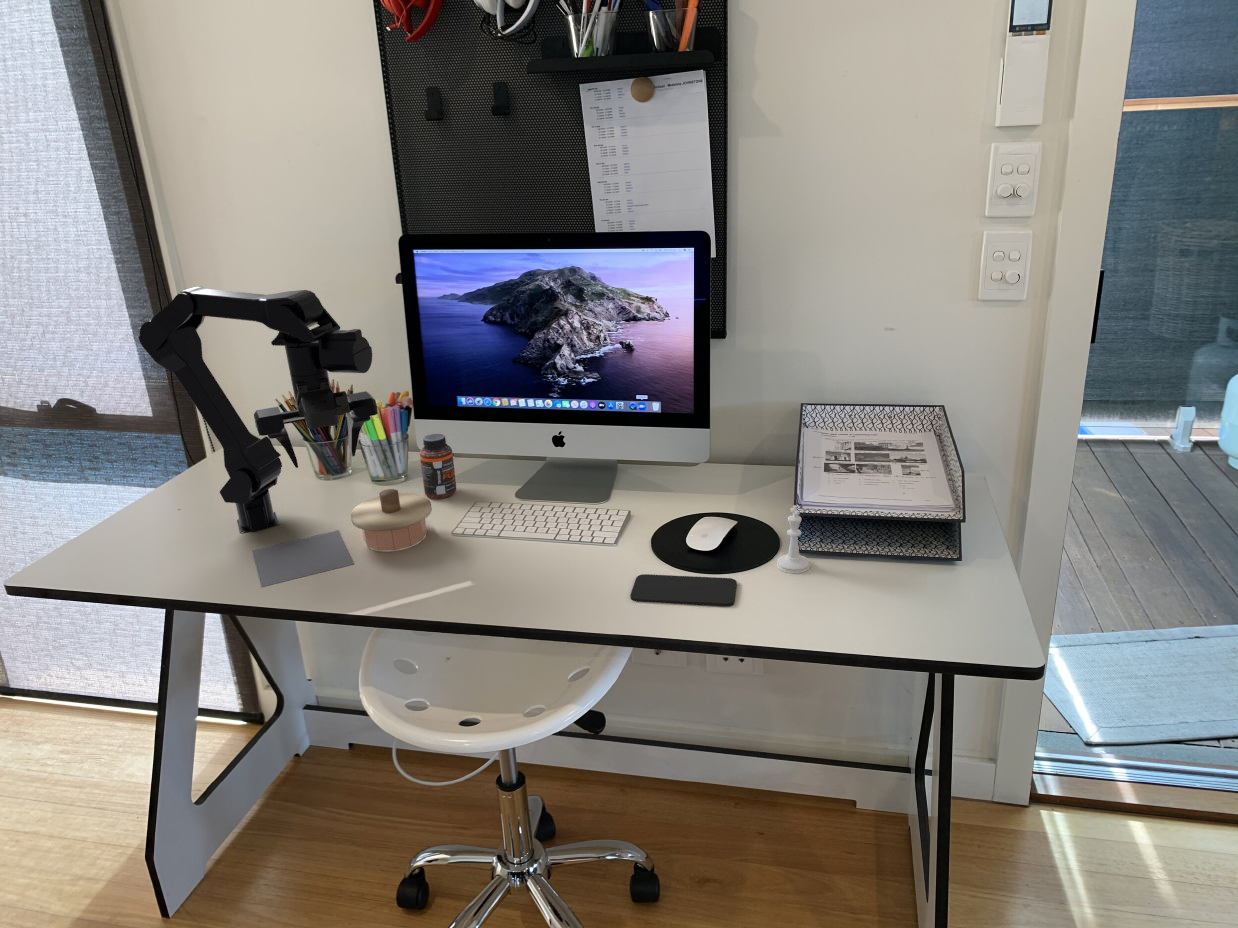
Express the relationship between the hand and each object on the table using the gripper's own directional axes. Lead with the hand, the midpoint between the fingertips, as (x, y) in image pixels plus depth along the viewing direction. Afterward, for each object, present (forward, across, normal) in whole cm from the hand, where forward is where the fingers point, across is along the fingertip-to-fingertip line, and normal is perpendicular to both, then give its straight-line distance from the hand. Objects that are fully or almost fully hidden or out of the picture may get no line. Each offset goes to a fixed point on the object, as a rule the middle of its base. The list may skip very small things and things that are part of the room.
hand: (325, 461), depth 150 cm
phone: (+14, +41, -48) cm, 65 cm away
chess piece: (+13, +59, -50) cm, 78 cm away
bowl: (+13, +8, -9) cm, 18 cm away
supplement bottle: (+13, +20, +6) cm, 25 cm away
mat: (+13, -7, -8) cm, 17 cm away
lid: (+8, +8, -9) cm, 14 cm away
